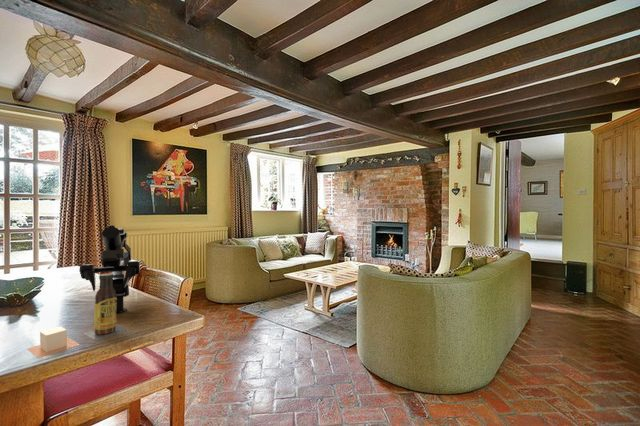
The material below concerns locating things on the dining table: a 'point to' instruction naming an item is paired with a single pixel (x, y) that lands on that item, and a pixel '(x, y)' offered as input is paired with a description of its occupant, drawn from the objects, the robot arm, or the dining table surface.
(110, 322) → the sauce bottle
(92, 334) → the slate tile
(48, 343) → the cream block
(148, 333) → the dining table surface
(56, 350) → the terracotta tile
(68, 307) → the dining table surface
